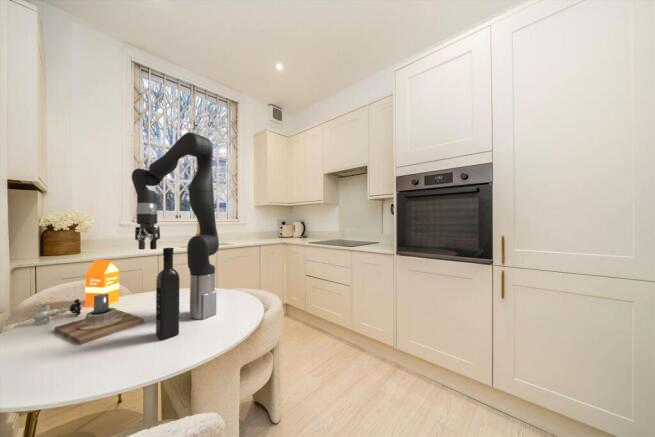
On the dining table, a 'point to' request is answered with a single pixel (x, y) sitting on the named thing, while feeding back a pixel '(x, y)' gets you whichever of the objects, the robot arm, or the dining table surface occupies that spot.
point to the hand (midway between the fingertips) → (147, 249)
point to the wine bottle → (167, 298)
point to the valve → (53, 312)
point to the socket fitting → (98, 325)
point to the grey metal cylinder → (101, 304)
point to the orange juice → (102, 281)
